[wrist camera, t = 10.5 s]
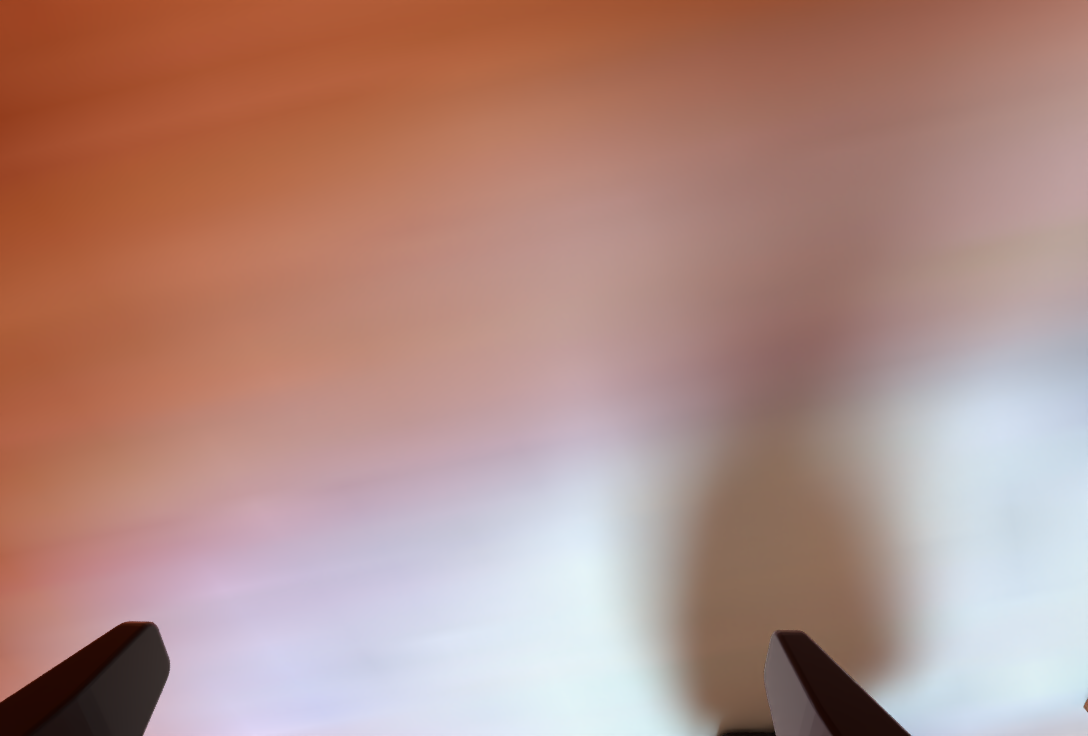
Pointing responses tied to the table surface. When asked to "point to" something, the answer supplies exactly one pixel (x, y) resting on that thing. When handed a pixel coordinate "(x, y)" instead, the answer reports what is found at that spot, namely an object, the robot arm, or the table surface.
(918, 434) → the table surface
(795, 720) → the robot arm
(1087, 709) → the rail
